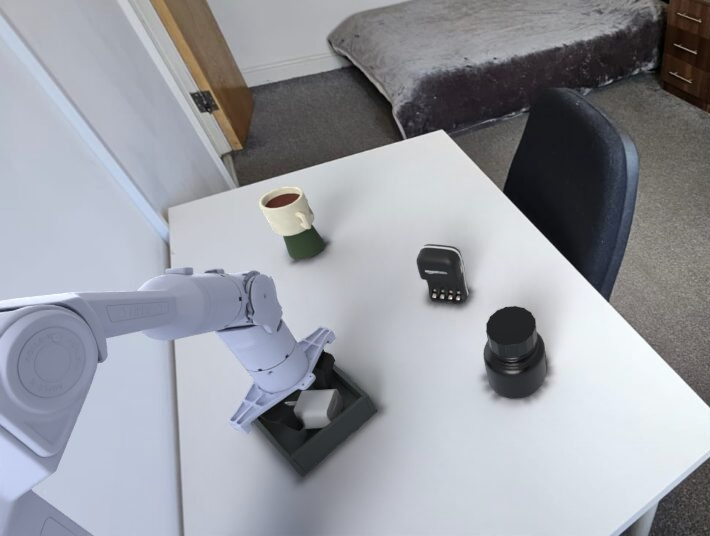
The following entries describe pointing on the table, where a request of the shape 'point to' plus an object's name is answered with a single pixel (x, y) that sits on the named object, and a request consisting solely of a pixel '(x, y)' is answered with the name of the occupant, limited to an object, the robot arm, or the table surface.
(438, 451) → the table surface
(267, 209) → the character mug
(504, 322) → the ink bottle
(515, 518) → the table surface
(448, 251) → the battery charger
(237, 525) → the table surface
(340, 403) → the usb wall charger
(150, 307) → the robot arm
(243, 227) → the table surface
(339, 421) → the open storage tray
